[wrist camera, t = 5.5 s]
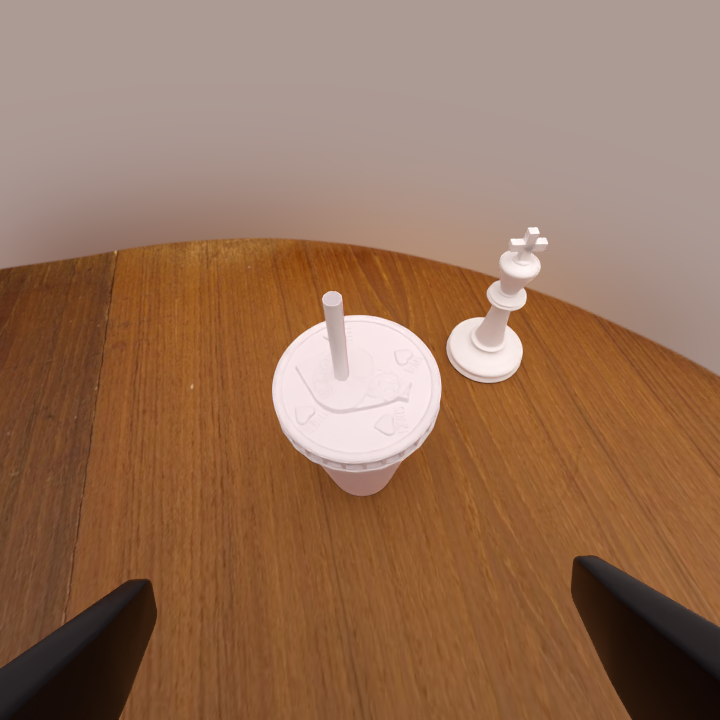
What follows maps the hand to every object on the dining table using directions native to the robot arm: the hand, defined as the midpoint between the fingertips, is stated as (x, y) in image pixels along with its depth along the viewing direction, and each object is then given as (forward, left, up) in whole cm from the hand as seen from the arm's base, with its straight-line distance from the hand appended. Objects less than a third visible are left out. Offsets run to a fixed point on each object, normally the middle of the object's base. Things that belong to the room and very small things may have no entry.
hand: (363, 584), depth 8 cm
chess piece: (+14, +8, -13) cm, 21 cm away
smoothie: (+3, +6, -13) cm, 15 cm away
